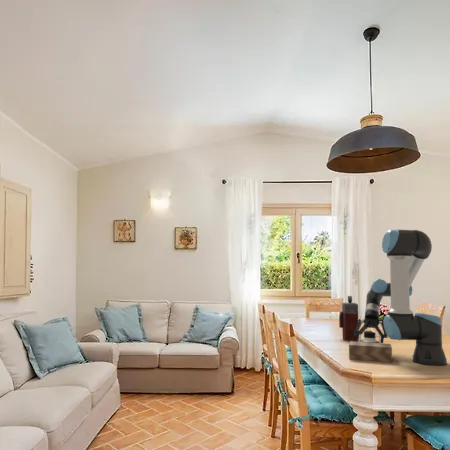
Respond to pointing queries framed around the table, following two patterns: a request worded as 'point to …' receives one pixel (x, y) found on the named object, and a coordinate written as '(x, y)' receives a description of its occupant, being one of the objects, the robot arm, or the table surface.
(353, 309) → the dark red tall piece
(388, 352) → the walnut box
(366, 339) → the medicine bottle
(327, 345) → the table surface
